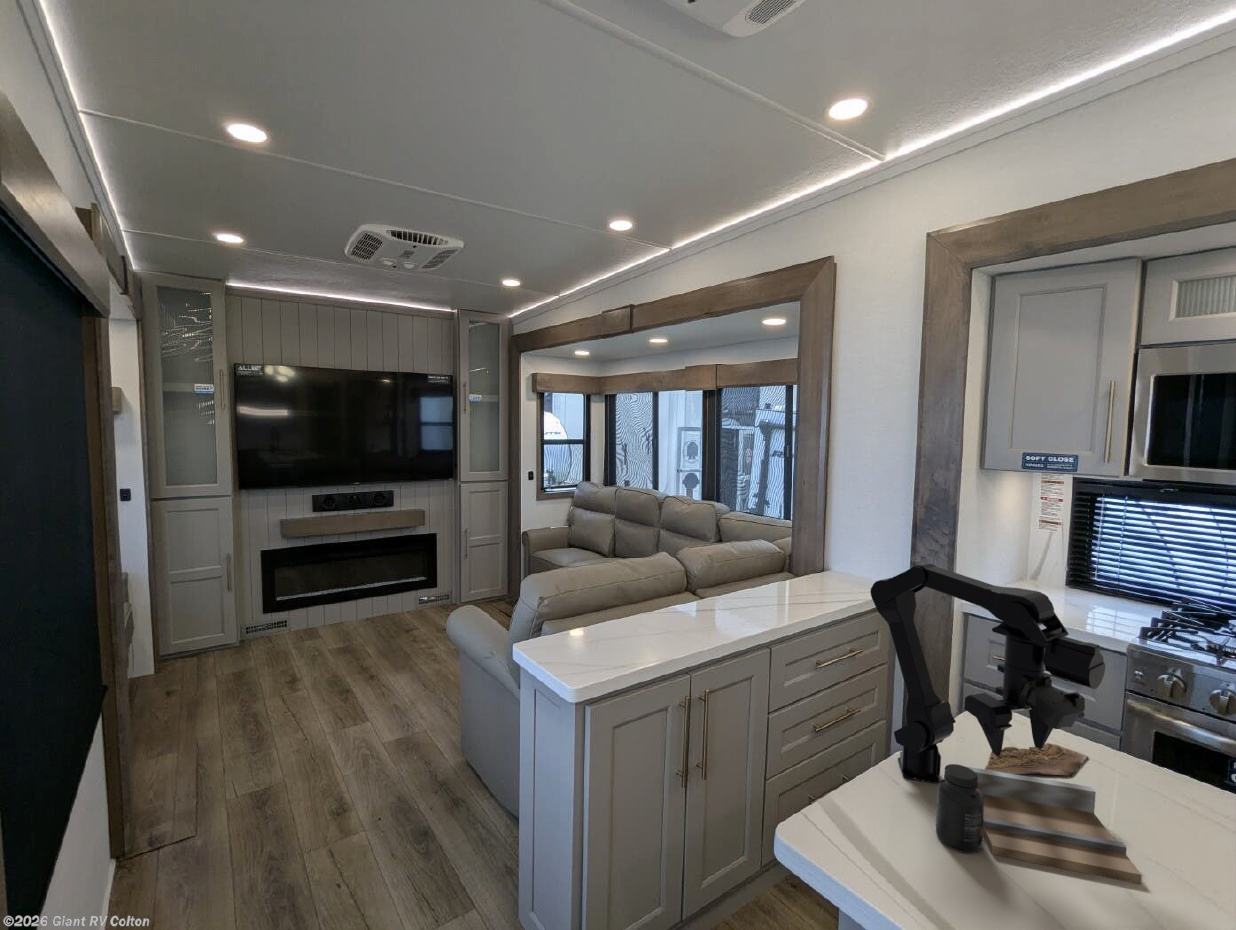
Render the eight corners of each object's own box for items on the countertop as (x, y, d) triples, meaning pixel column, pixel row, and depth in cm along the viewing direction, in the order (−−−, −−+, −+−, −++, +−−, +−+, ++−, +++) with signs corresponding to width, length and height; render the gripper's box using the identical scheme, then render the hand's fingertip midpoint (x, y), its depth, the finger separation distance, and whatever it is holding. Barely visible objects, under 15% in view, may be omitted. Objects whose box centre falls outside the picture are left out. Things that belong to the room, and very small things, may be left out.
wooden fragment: (1061, 743, 127) (1061, 738, 127) (1112, 773, 116) (1112, 768, 116) (960, 755, 122) (960, 750, 122) (1003, 787, 112) (1003, 782, 112)
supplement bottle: (978, 833, 99) (982, 766, 98) (984, 860, 92) (989, 789, 92) (933, 821, 101) (937, 756, 101) (936, 846, 95) (940, 777, 94)
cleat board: (991, 854, 94) (993, 822, 93) (963, 793, 109) (965, 766, 109) (1140, 883, 88) (1143, 850, 88) (1089, 815, 103) (1091, 786, 103)
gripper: (1024, 692, 88) (1017, 787, 90) (1115, 679, 93) (1107, 771, 94) (964, 662, 99) (959, 748, 100) (1048, 652, 104) (1042, 734, 105)
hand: (1017, 751), depth 100 cm, fingers open, 9 cm apart
